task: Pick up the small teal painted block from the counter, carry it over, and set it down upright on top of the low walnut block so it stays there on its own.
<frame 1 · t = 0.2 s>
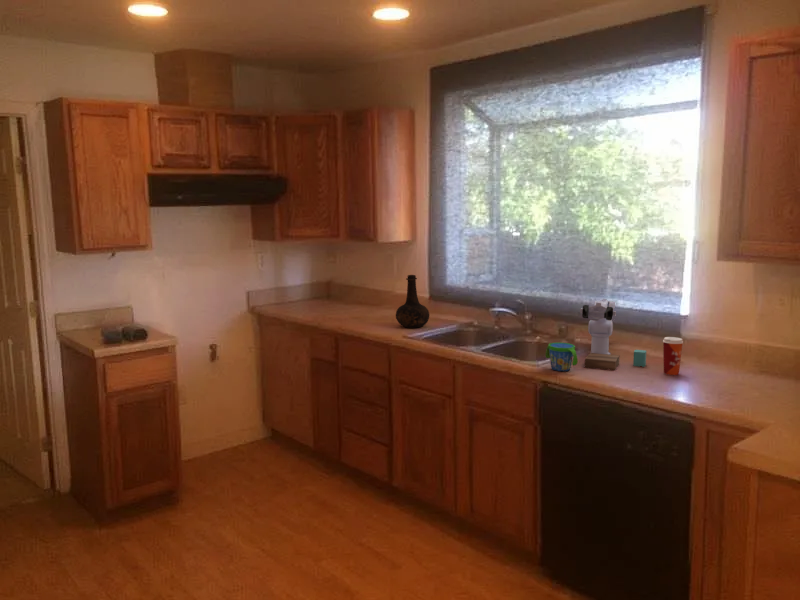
hand: (595, 314, 290), 21 cm above the worktop, tool horizontal, fingers open, 7 cm apart
glass bottle: (412, 327, 380), on the worktop
snack cup: (560, 370, 286), on the worktop
teal block: (639, 365, 293), on the worktop
paper cup: (671, 373, 280), on the worktop
walnut base: (602, 366, 293), on the worktop
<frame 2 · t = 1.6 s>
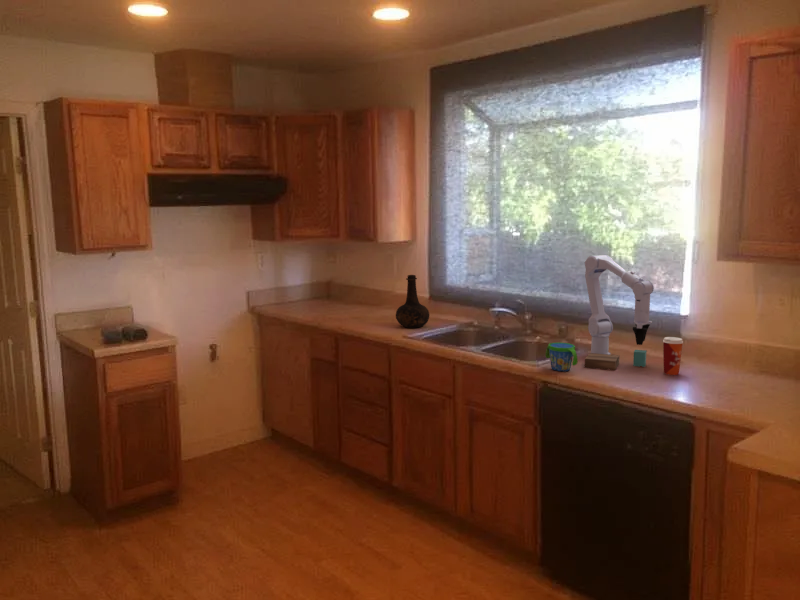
hand: (640, 342, 292), 9 cm above the worktop, tool pointing down, fingers open, 7 cm apart
nothing on the worktop moved.
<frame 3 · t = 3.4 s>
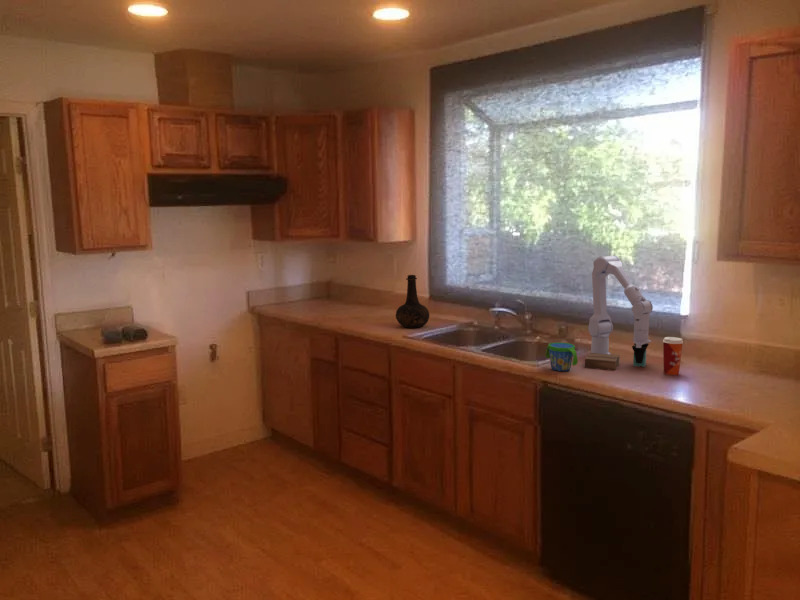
hand: (639, 361, 293), 1 cm above the worktop, tool pointing down, fingers closed on teal block, 4 cm apart
teal block: (639, 365, 293), on the worktop, touching gripper
everything else where it was.
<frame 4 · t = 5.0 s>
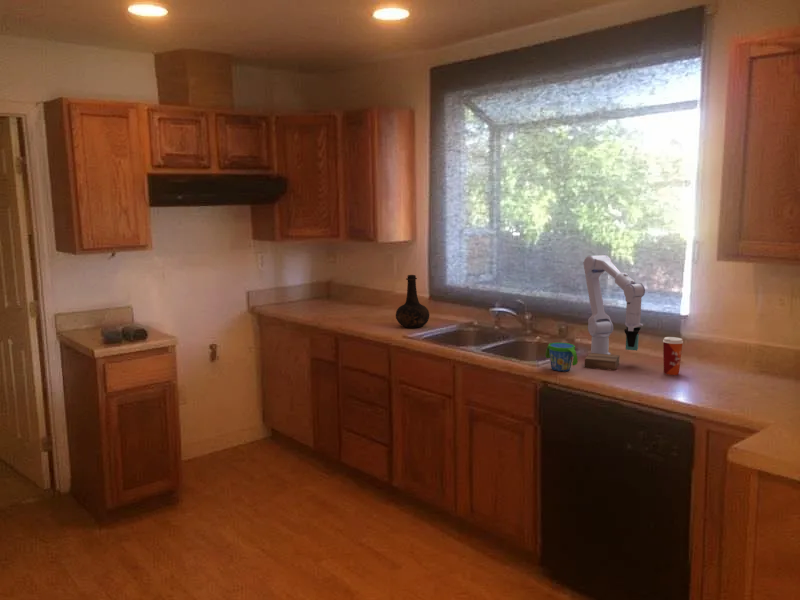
hand: (631, 345, 292), 8 cm above the worktop, tool pointing down, fingers closed on teal block, 4 cm apart
teal block: (631, 348, 292), point 7 cm above the worktop, touching gripper
everything else where it was.
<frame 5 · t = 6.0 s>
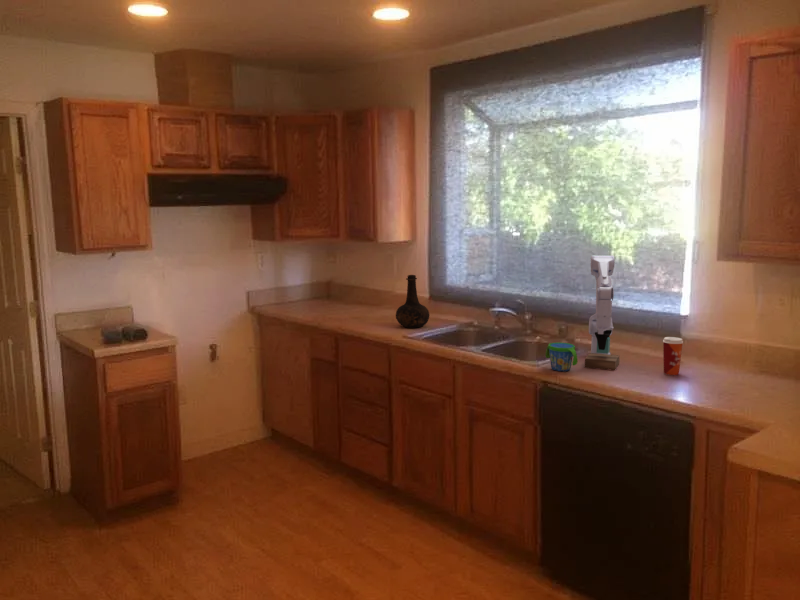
hand: (602, 348, 292), 7 cm above the worktop, tool pointing down, fingers closed on teal block, 4 cm apart
teal block: (603, 352, 292), point 6 cm above the worktop, touching gripper
everything else where it was.
when the fingers open (7 cm above the worktop, at t = 6.9 s): teal block drops 2 cm, point 3 cm above the worktop.
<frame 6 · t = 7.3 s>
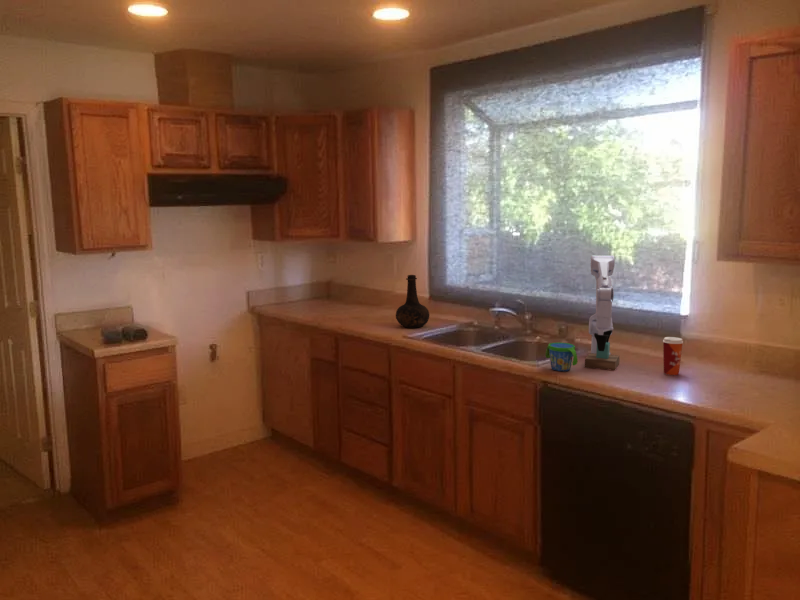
hand: (602, 349, 292), 7 cm above the worktop, tool pointing down, fingers open, 7 cm apart
teal block: (602, 357, 292), point 3 cm above the worktop
everything else where it was.
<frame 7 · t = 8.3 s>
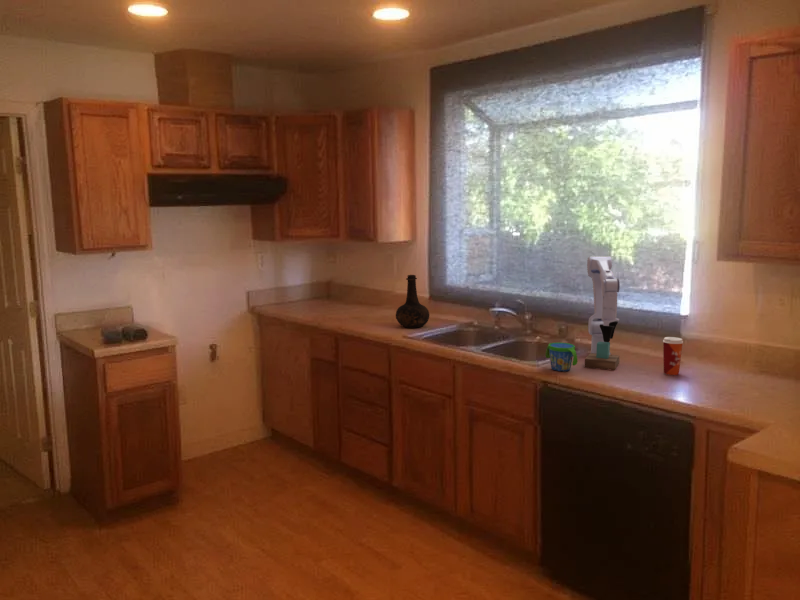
hand: (608, 340, 293), 10 cm above the worktop, tool pointing down, fingers open, 7 cm apart
nothing on the worktop moved.
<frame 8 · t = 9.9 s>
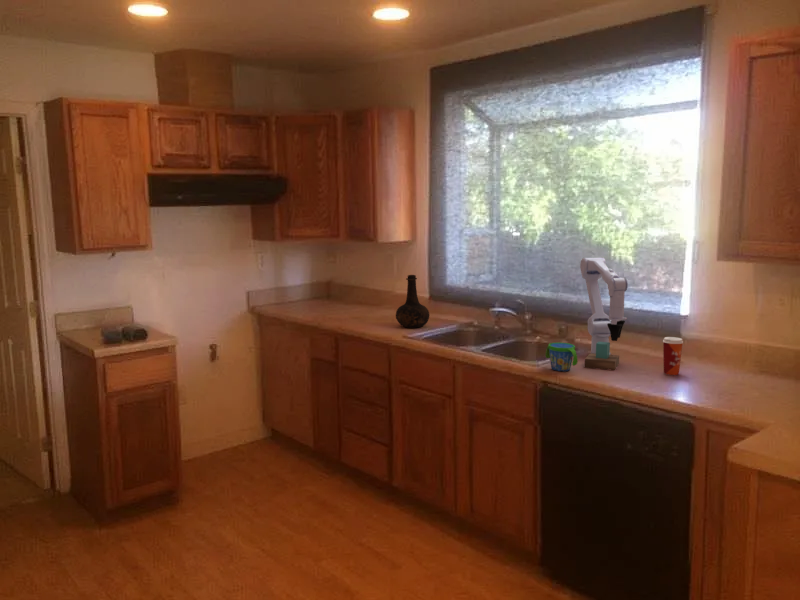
hand: (615, 339, 295), 10 cm above the worktop, tool pointing down, fingers open, 7 cm apart
nothing on the worktop moved.
at the end: teal block inside the target area on the walnut base (0.1 cm from its centre), point 4.0 cm above the walnut base's base; teal block tilted 0°; the gripper is holding nothing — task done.
